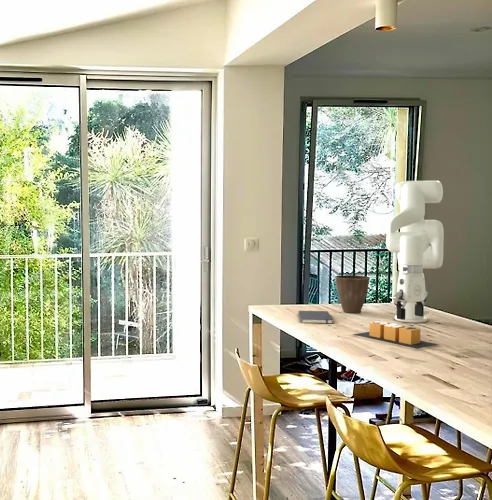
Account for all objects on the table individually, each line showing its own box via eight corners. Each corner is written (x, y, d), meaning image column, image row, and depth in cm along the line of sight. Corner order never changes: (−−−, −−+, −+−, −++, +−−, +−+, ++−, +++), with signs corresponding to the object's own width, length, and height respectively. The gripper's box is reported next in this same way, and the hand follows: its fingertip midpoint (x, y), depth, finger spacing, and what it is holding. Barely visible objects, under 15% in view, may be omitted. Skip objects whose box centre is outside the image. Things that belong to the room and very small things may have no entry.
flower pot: (332, 308, 303) (332, 274, 302) (365, 309, 301) (365, 275, 300) (337, 314, 288) (337, 278, 287) (372, 314, 286) (372, 278, 285)
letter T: (408, 340, 232) (408, 326, 232) (420, 343, 228) (420, 328, 227) (398, 342, 230) (399, 327, 229) (410, 344, 225) (411, 330, 225)
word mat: (374, 332, 249) (374, 330, 249) (439, 345, 225) (439, 344, 225) (352, 335, 243) (352, 334, 243) (416, 350, 219) (416, 348, 219)
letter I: (392, 337, 238) (393, 323, 237) (404, 339, 233) (404, 325, 233) (383, 338, 235) (383, 324, 235) (395, 341, 231) (395, 326, 231)
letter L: (378, 334, 243) (378, 320, 243) (389, 336, 239) (389, 322, 239) (369, 335, 241) (369, 321, 240) (380, 338, 236) (380, 324, 236)
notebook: (298, 313, 291) (301, 322, 270) (298, 310, 290) (301, 319, 270) (327, 314, 288) (332, 323, 267) (327, 311, 288) (333, 319, 267)
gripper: (403, 272, 219) (402, 322, 221) (436, 268, 228) (435, 316, 230) (385, 270, 226) (384, 318, 227) (417, 266, 234) (416, 313, 236)
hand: (410, 317), depth 229 cm, fingers open, 9 cm apart
